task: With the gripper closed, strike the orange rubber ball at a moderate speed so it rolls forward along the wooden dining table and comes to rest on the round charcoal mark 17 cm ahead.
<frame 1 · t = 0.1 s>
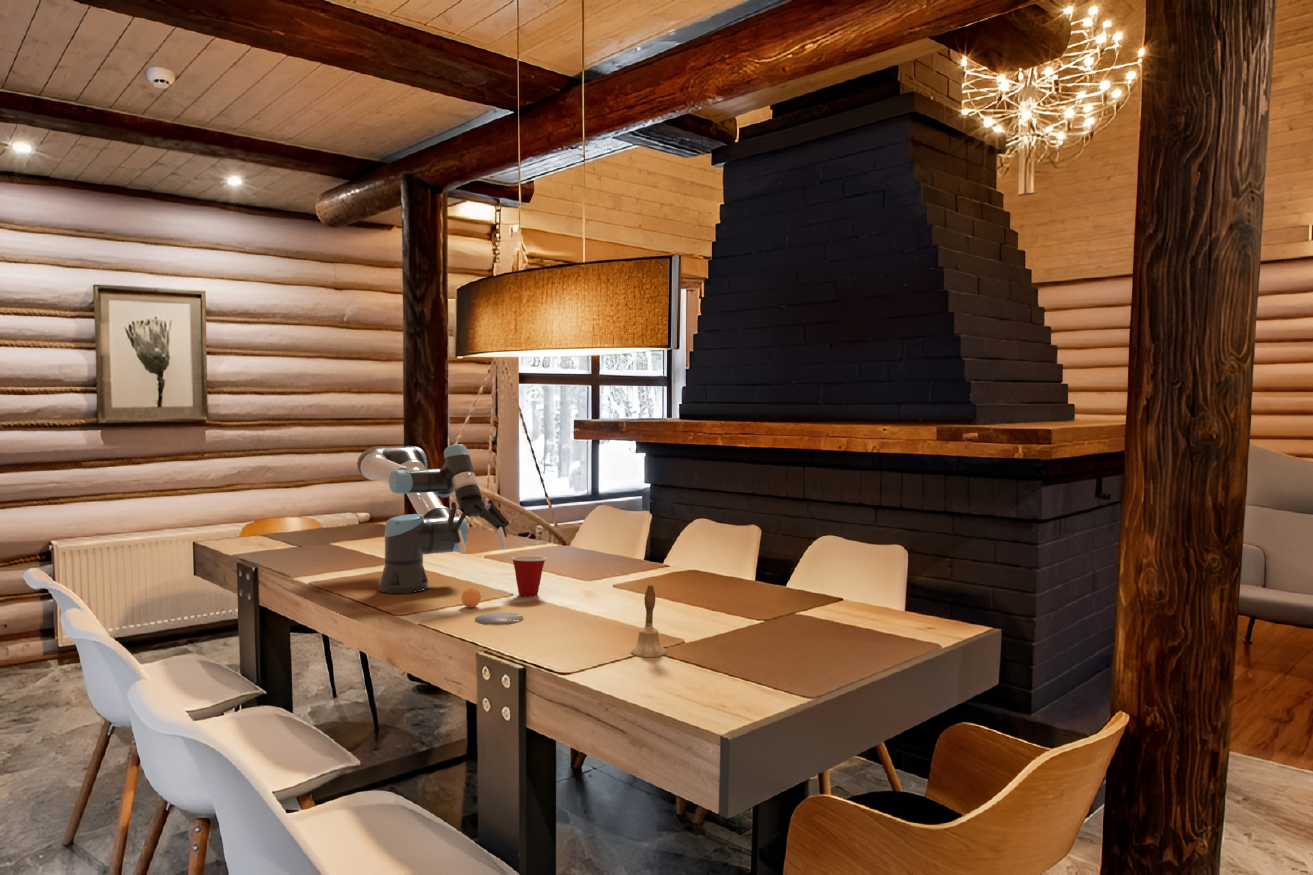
hand: (484, 549, 243), 15 cm above the table, tool tilted 35°, fingers open, 13 cm apart
ball: (471, 597, 234), on the table
hand bell: (648, 653, 191), on the table
plastic cup: (528, 595, 252), on the table
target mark: (499, 619, 221), on the table
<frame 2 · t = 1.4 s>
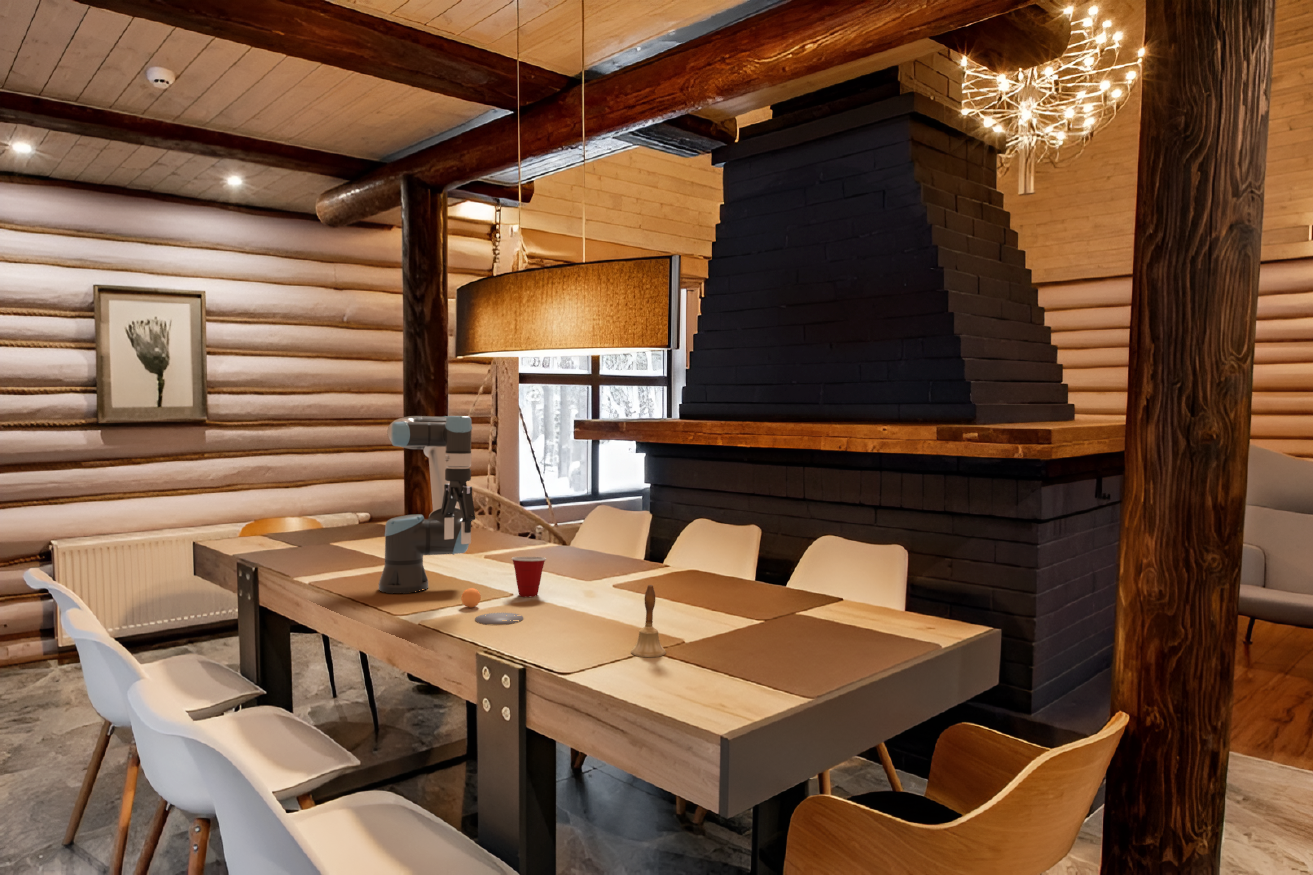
hand: (457, 541, 241), 18 cm above the table, tool pointing down, fingers open, 11 cm apart
nothing on the table moved.
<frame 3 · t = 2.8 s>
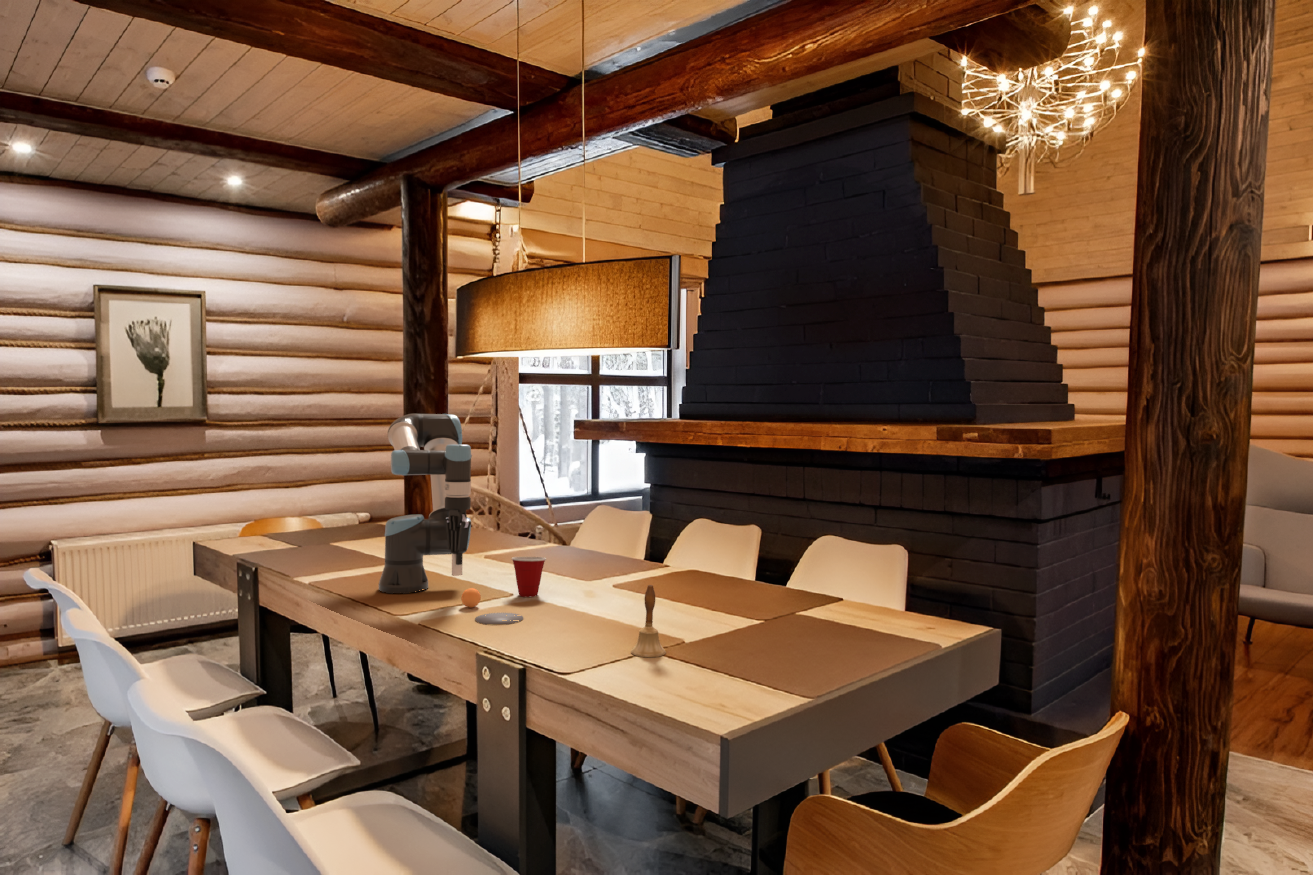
hand: (457, 575, 241), 8 cm above the table, tool pointing down, fingers closed
nothing on the table moved.
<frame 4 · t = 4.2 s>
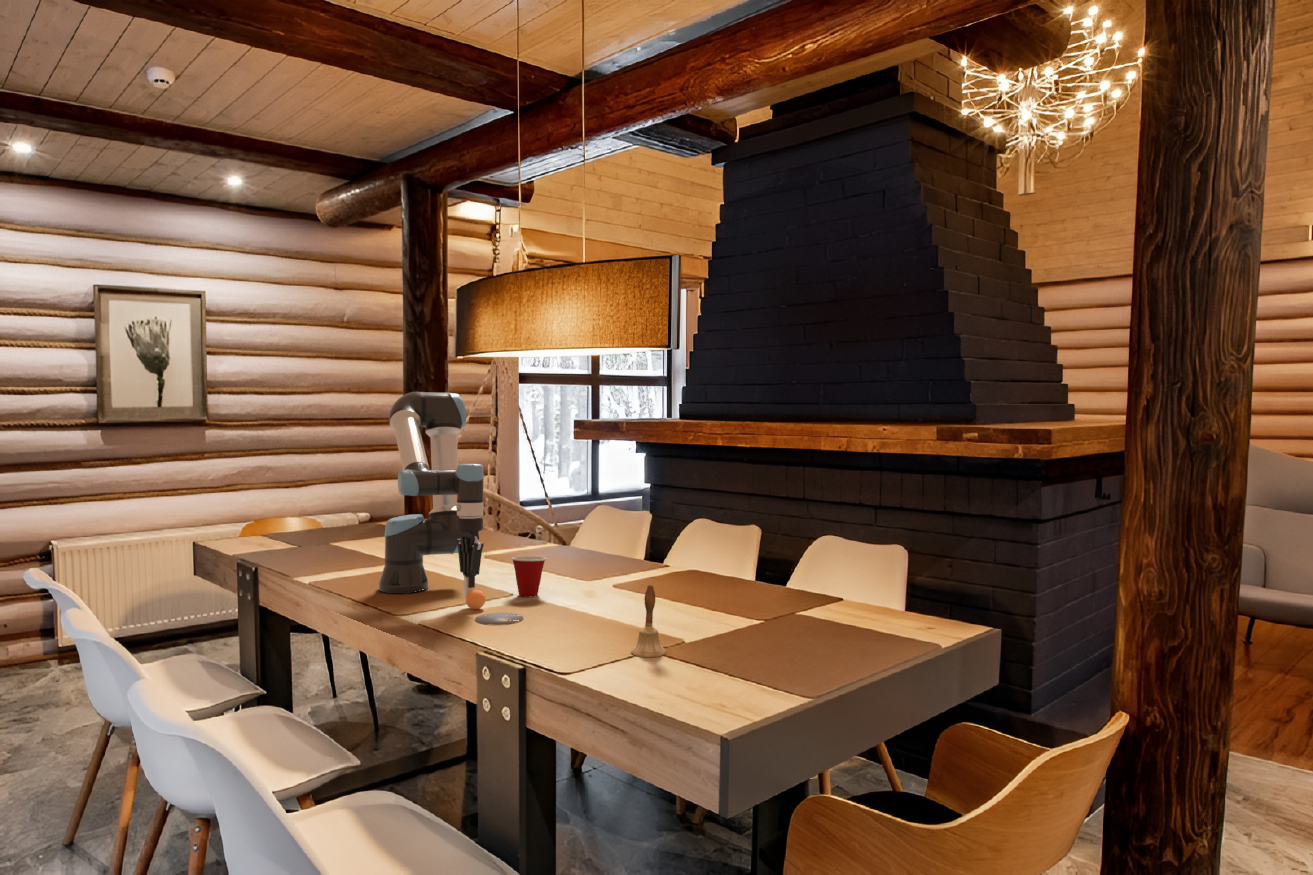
hand: (469, 598, 234), 3 cm above the table, tool pointing down, fingers closed
ball: (475, 599, 232), on the table
everything else where it was.
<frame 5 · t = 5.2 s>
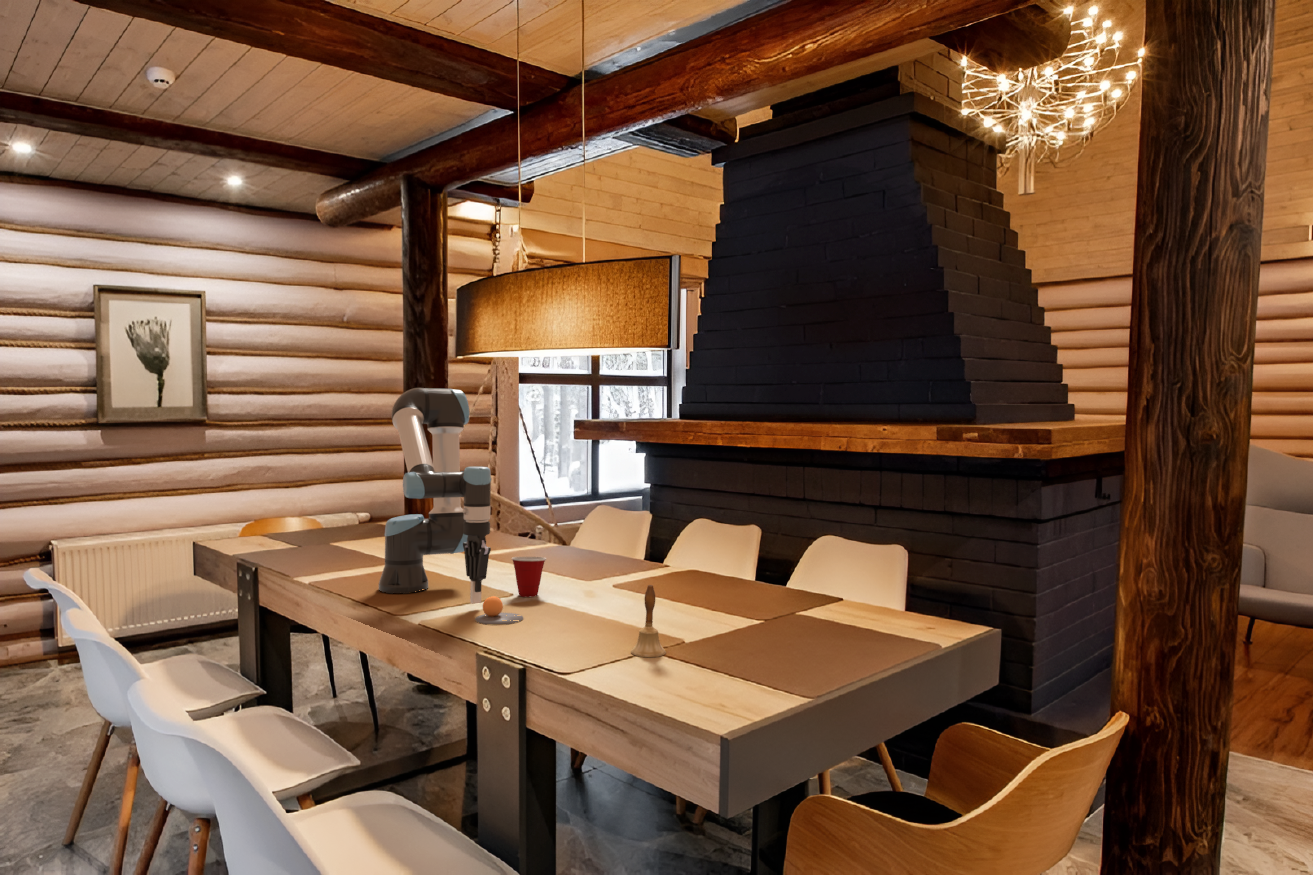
hand: (475, 602, 232), 2 cm above the table, tool pointing down, fingers closed
ball: (492, 606, 224), on the table
everything else where it was.
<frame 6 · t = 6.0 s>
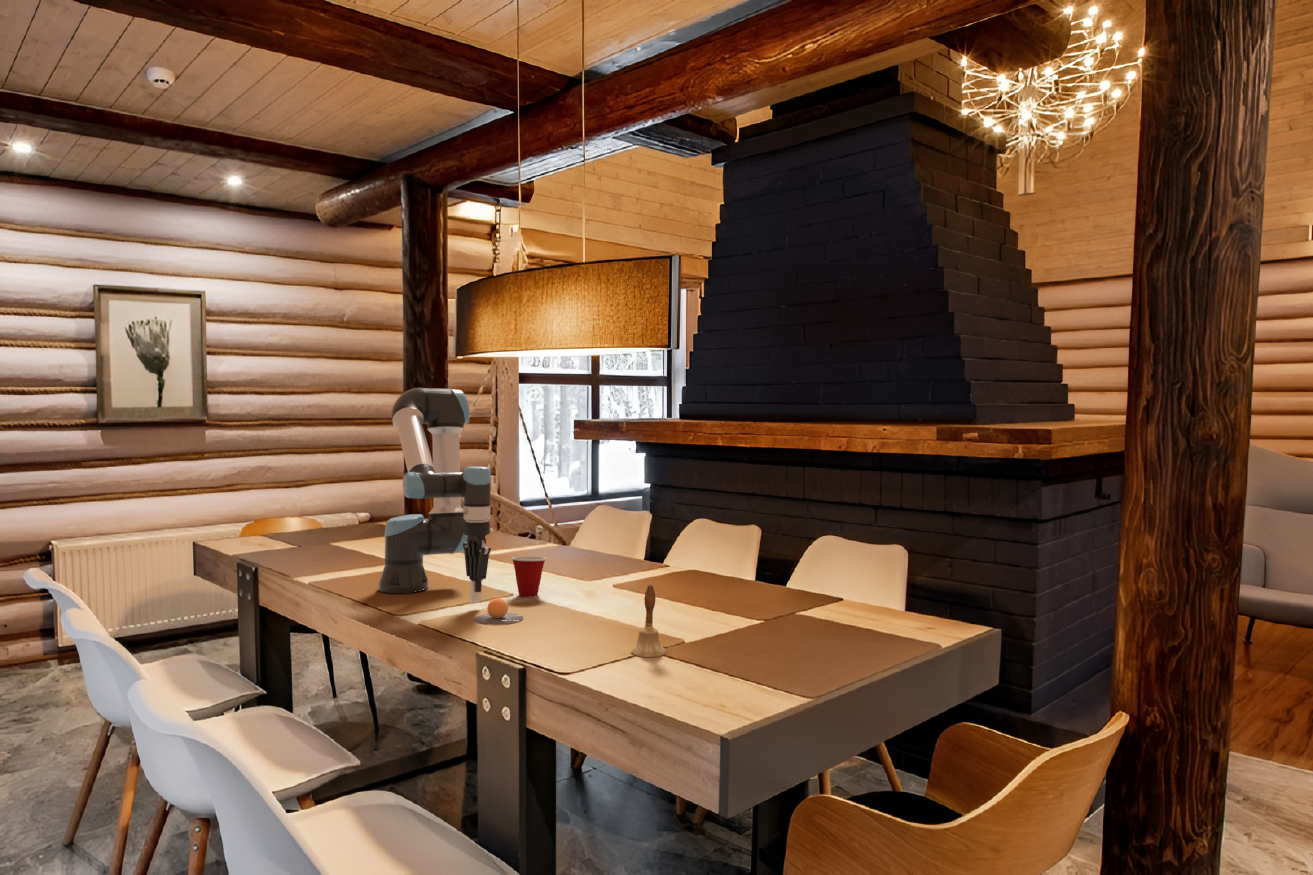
hand: (475, 602, 232), 2 cm above the table, tool pointing down, fingers closed
ball: (497, 608, 222), on the table
everything else where it was.
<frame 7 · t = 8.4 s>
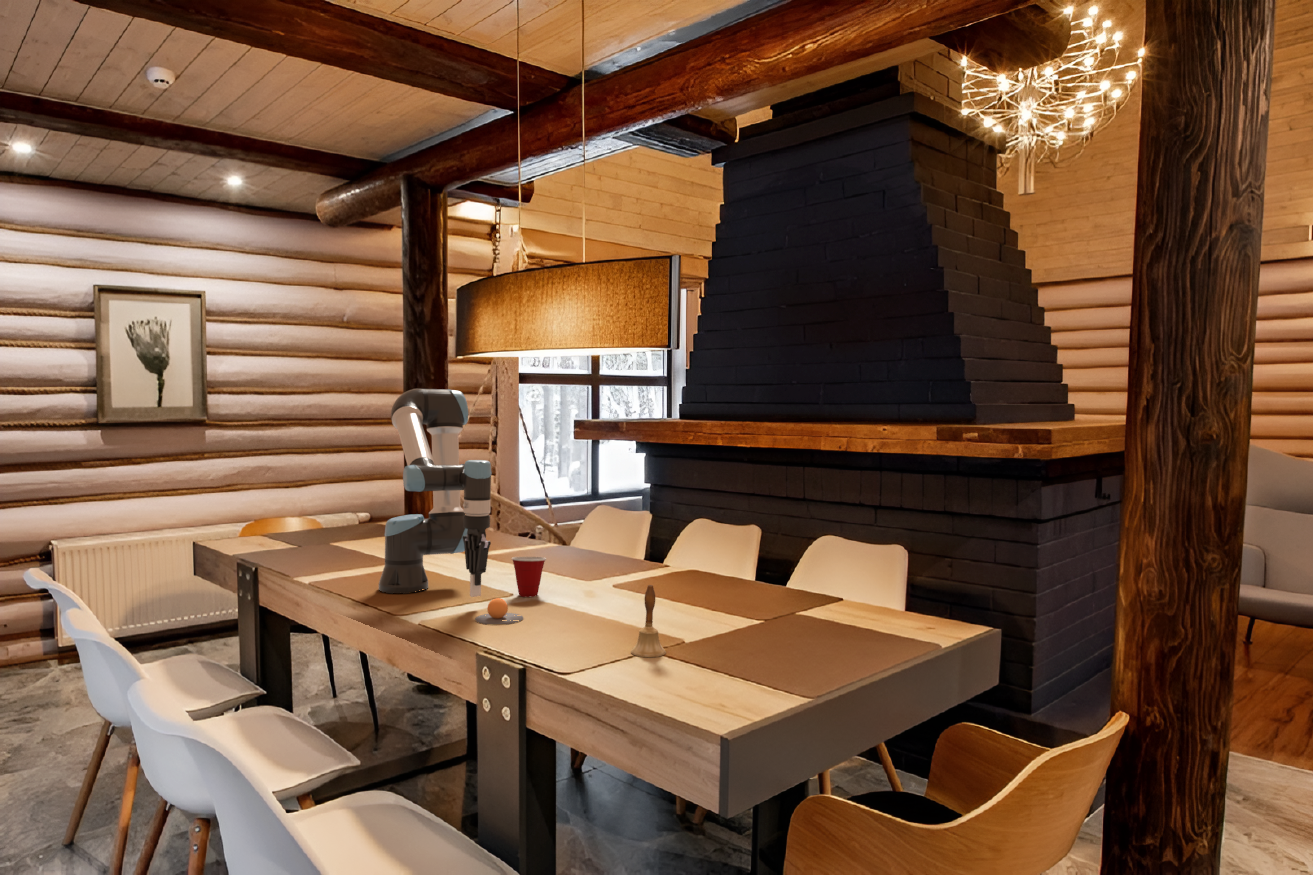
hand: (475, 595, 232), 4 cm above the table, tool pointing down, fingers closed
nothing on the table moved.
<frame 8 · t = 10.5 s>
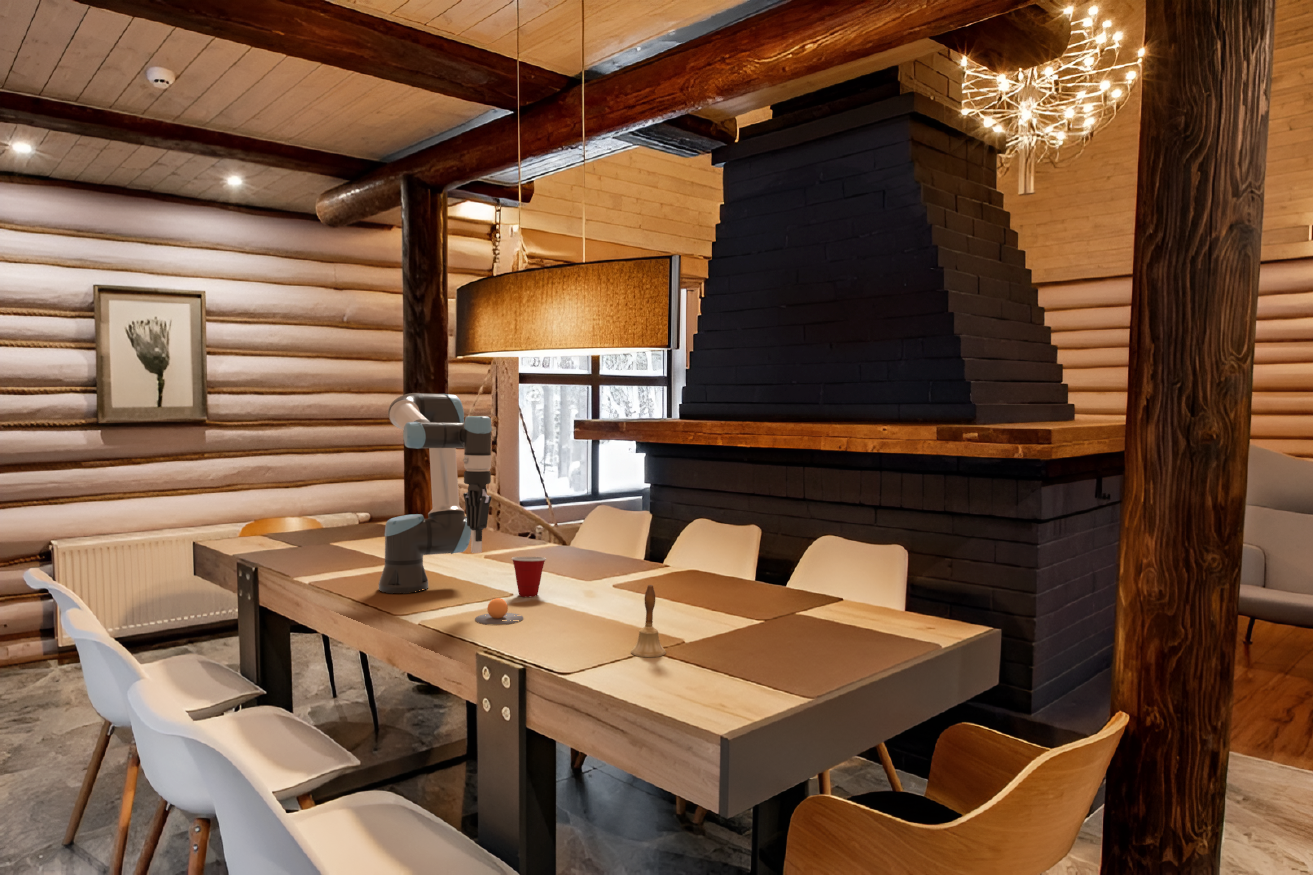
hand: (476, 552, 232), 16 cm above the table, tool pointing down, fingers closed
nothing on the table moved.
at the end: ball 0.8 cm from the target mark (horizontally); ball at rest at the end (0.0 cm/s); ball moved 16.2 cm from its start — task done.
